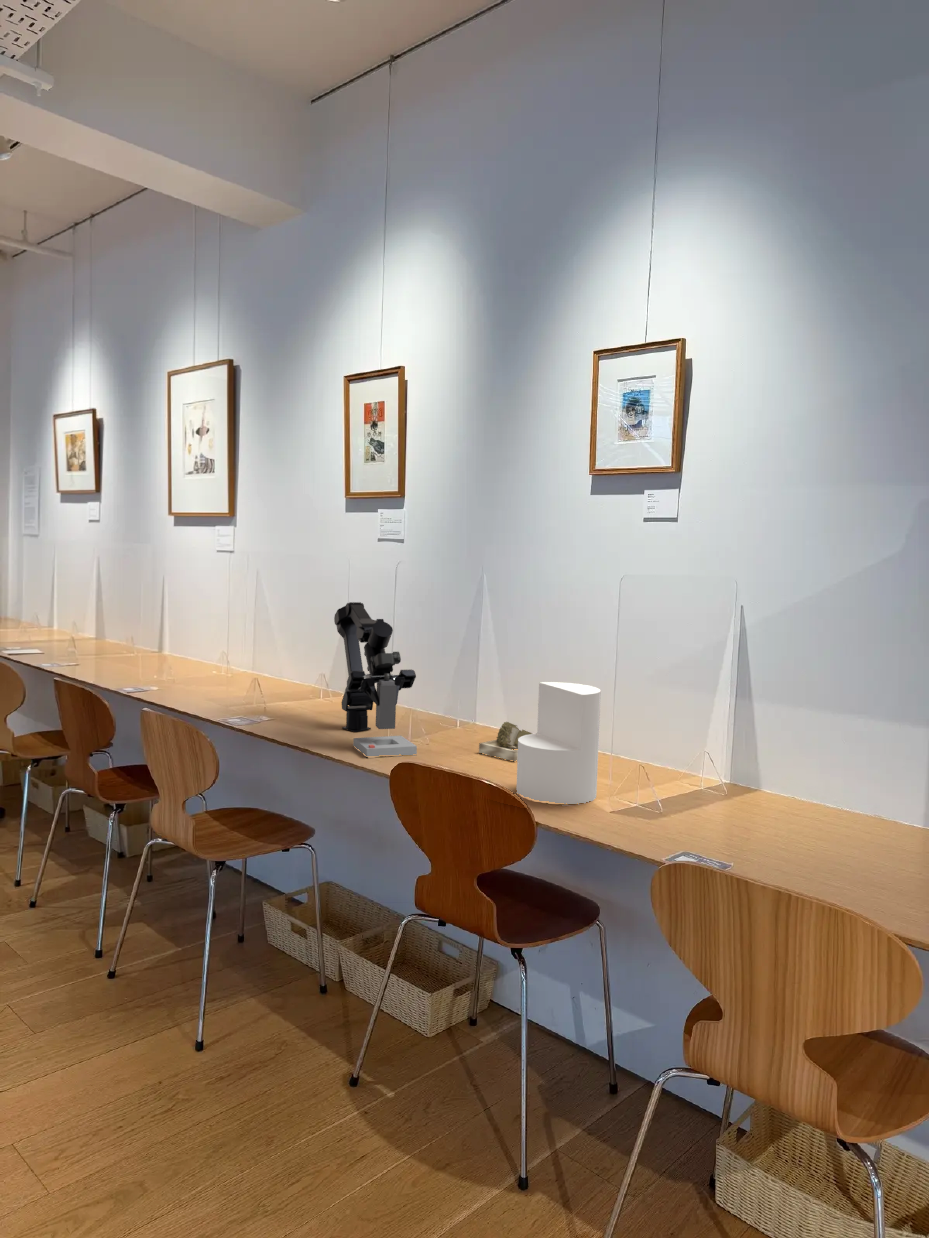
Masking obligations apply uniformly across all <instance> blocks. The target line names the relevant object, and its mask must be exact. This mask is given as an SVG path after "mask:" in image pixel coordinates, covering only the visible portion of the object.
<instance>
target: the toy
mask: <svg viewBox="0 0 929 1238" xmlns="http://www.w3.org/2000/svg"><path fill="white" fill-rule="evenodd" d="M529 734H534V733H532V732H530V731H527V730H526V729H525V730H524V729H519V727H518V725H517V724H515V723H511V722H509V721H504V722H503V723H502V725H501V727H500V728H498V733H497V736H496V740H498V744H500V743H501V744H502V745H503V748H507V747H508V746H515V747H516V748H517V749H518V738H520V737H521V736H524V735H529Z"/></svg>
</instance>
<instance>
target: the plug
mask: <svg viewBox="0 0 929 1238" xmlns="http://www.w3.org/2000/svg"><path fill="white" fill-rule="evenodd" d="M376 691H377V694H378V698H379V706H377V705H376V704H375V727H376V728H377V729H378V730H393V729H396V714H397V713H396V712H397V708H396V707H397V704H396V685H395V682H394V681H393V680H389V673H384V680H379V683H376Z"/></svg>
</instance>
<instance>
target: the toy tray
mask: <svg viewBox="0 0 929 1238" xmlns="http://www.w3.org/2000/svg"><path fill="white" fill-rule="evenodd" d="M512 749H513V750H512ZM514 749H517V748H516V747H515V746H508V747H507V748H503V745H502V744H501V743H500V744H498V740H497V739H493V740H488V741H483V742H480V743H479V744H478V754H479V753H484V754H487V755H490V756H489V757H491V756H496V757H500V758H503V759H506V760H505V761H507V760H513V761H516V760H517V759H518V750H514ZM487 755H486V756H487ZM503 759H502V760H503Z"/></svg>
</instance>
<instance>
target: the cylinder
mask: <svg viewBox="0 0 929 1238" xmlns="http://www.w3.org/2000/svg"><path fill="white" fill-rule="evenodd" d="M601 692H602V690H601V689H600V688H598V687H596V686H594V685H588V684H581V683H575V682H574V683H573V682H563V681H562V682H561V681H560V682H559V681H558V682H556V681H549V682H548V681H541V682H539V683H538V700H537V701H538V703H537V708H538V709H537V711H538V712H537V733H533V734H529V735H524V736H521V737H520V738H518V759H517V762H516V763H517V765H516V768H517V769H516V790H517V792H516V793H518V794H521V795H523V796H524V797H529V798H531V799H534V800H539V801H549V802H555V803H564V804H566V803H567V804H577V803H578V805H580V804H579V803H584V804H587V803H586V802H588V803H590V802H589V801H591V802H593V801H595V800H594V799H597V790H598V770H599V769H598V766H599V765H598V764H599V746H600V745H599V741H600V721H601V720H600V718H601V717H600V716H601Z"/></svg>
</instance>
